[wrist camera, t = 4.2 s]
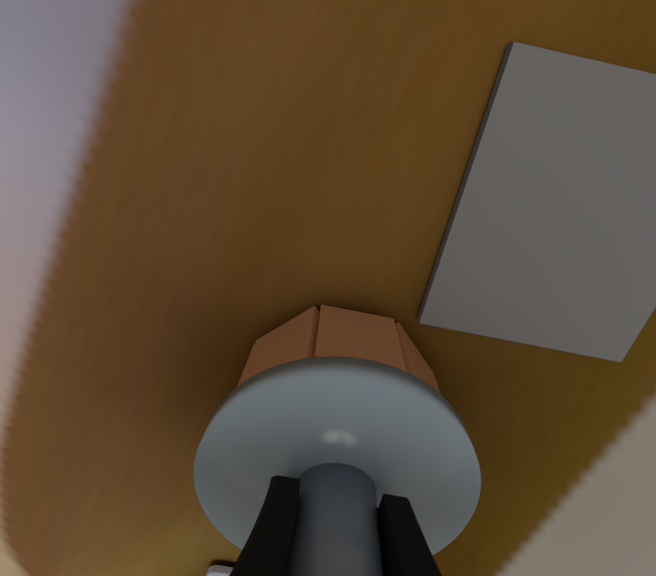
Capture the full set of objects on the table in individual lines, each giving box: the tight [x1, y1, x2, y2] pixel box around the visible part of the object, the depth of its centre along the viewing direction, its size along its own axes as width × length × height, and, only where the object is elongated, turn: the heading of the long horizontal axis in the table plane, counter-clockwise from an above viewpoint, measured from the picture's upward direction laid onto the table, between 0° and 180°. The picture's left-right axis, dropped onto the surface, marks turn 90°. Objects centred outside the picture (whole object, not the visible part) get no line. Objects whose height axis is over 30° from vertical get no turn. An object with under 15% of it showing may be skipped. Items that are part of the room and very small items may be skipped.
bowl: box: [237, 304, 441, 394], centre depth 13 cm, size 7×7×3 cm
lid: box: [193, 356, 481, 576], centre depth 9 cm, size 8×8×4 cm
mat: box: [417, 42, 656, 362], centre depth 11 cm, size 8×7×1 cm
